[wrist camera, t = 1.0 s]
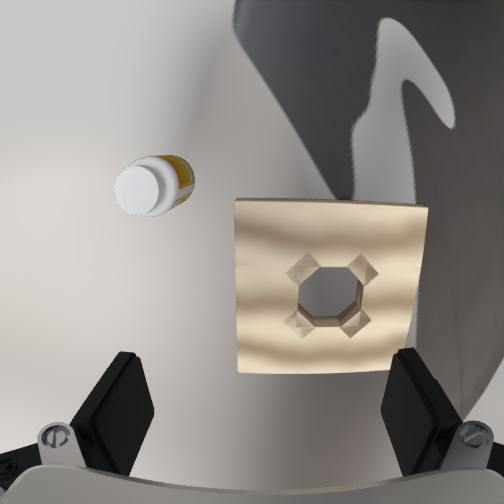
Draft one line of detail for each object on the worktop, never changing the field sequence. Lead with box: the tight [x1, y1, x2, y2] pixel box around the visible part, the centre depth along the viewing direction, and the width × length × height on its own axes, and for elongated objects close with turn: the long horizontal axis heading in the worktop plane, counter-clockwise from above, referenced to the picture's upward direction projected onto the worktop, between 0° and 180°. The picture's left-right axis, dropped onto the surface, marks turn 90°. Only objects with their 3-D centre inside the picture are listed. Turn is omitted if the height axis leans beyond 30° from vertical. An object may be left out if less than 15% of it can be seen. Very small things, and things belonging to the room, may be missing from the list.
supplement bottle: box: [114, 155, 195, 217], centre depth 29 cm, size 5×5×10 cm
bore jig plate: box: [234, 198, 428, 374], centre depth 35 cm, size 20×20×2 cm
